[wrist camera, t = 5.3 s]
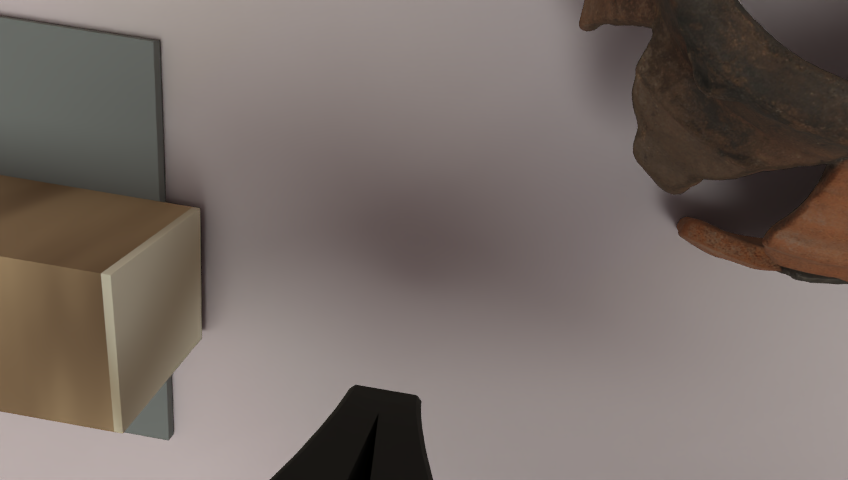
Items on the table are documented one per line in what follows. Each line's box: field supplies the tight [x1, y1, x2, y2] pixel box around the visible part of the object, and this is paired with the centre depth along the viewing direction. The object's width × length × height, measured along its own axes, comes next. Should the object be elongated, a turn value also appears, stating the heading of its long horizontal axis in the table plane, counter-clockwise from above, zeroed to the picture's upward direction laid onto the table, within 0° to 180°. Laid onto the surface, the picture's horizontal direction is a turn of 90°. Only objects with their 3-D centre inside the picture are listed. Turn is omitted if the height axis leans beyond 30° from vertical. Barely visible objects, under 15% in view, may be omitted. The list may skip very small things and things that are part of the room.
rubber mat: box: [0, 16, 173, 440], centre depth 17 cm, size 12×9×1 cm
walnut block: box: [0, 175, 202, 433], centre depth 14 cm, size 4×4×7 cm
